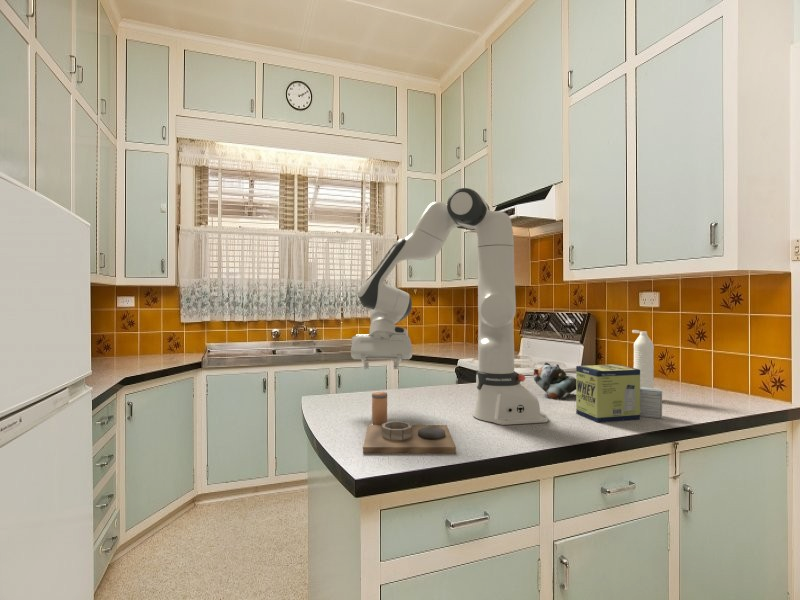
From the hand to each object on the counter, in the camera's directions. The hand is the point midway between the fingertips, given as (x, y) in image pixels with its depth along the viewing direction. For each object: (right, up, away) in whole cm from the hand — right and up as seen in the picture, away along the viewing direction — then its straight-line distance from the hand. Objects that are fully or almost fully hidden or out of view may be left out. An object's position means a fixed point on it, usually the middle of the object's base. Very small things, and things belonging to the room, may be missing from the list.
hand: (381, 368), depth 137 cm
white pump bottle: (+96, -15, +22) cm, 100 cm away
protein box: (+71, -15, -3) cm, 73 cm away
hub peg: (0, -15, -11) cm, 19 cm away
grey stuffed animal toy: (+65, -15, +26) cm, 72 cm away
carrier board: (+8, -15, -26) cm, 31 cm away
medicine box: (+84, -15, -2) cm, 85 cm away
